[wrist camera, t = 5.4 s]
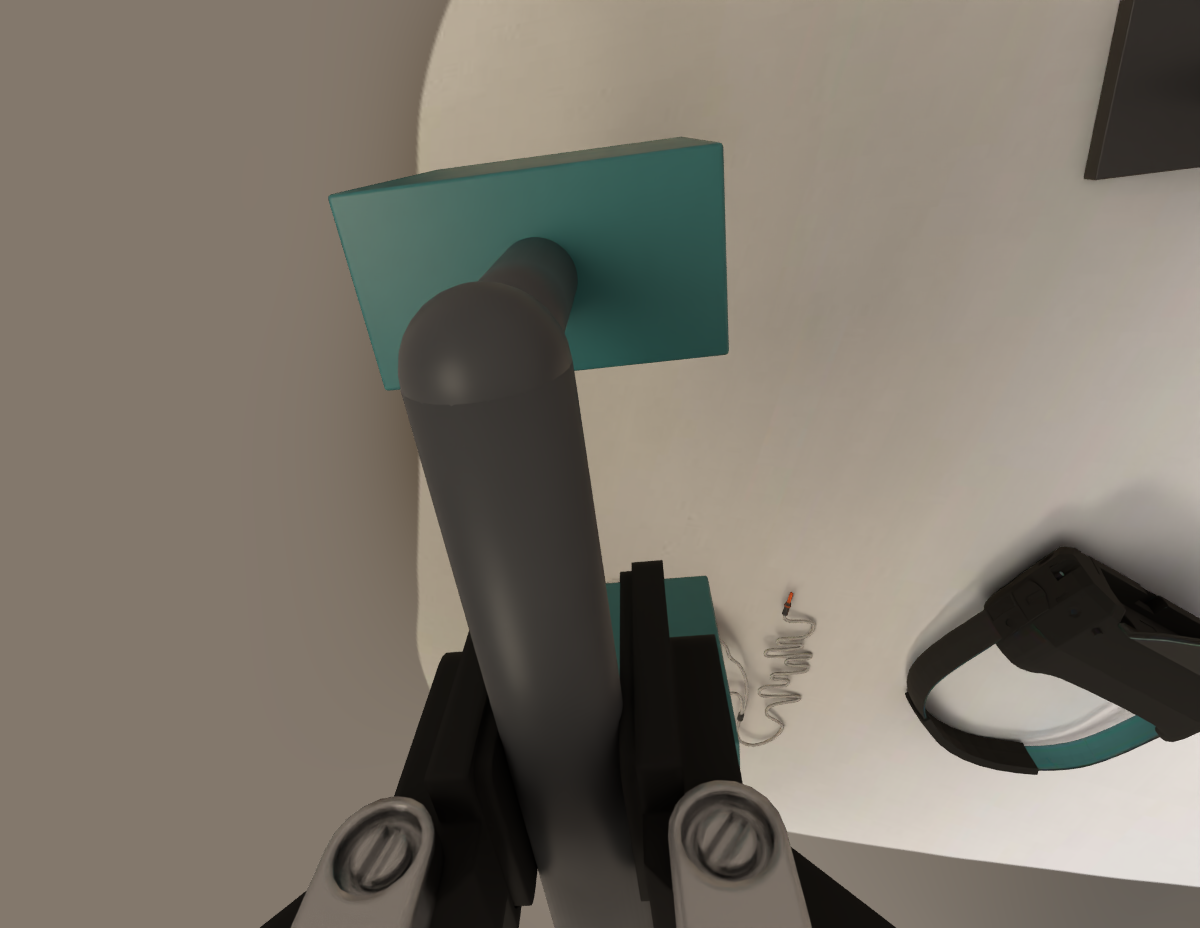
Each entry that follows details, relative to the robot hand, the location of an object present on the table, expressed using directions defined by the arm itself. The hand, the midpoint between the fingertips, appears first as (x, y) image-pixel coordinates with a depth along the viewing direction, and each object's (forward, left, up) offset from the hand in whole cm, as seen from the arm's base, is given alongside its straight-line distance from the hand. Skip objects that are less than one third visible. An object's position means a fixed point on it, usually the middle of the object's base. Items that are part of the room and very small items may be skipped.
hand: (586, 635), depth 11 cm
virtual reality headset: (+32, +30, -30) cm, 54 cm away
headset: (0, 0, -7) cm, 7 cm away
